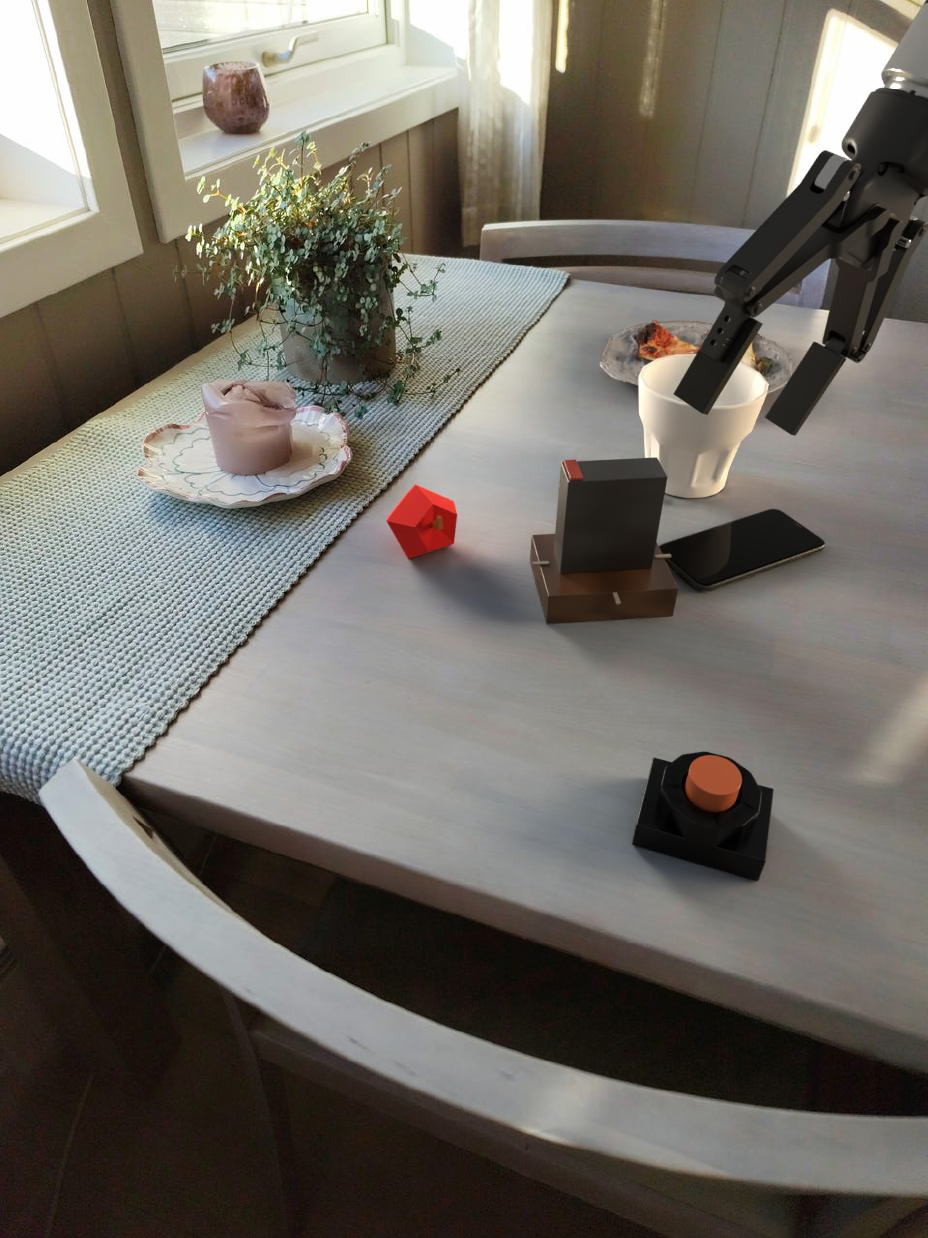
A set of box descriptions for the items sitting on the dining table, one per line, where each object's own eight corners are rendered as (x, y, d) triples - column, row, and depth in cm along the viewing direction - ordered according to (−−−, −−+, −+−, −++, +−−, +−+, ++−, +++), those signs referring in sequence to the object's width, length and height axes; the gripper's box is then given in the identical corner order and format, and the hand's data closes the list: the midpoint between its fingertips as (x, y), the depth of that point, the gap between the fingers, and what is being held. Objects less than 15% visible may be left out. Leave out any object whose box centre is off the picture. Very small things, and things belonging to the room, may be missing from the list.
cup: (607, 456, 95) (619, 360, 88) (711, 442, 97) (730, 347, 90) (654, 517, 86) (671, 414, 79) (767, 500, 88) (794, 399, 81)
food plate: (617, 326, 124) (619, 302, 121) (786, 344, 119) (792, 318, 116) (588, 402, 105) (591, 375, 103) (787, 426, 100) (795, 398, 98)
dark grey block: (642, 546, 77) (657, 454, 71) (651, 568, 74) (668, 474, 68) (553, 551, 76) (561, 458, 70) (560, 573, 74) (568, 479, 68)
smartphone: (701, 596, 76) (829, 550, 81) (702, 588, 76) (831, 543, 81) (650, 552, 81) (774, 512, 86) (652, 545, 81) (776, 505, 86)
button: (738, 780, 56) (744, 762, 55) (733, 818, 53) (738, 801, 52) (688, 767, 57) (693, 749, 56) (681, 804, 54) (685, 786, 53)
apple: (371, 480, 81) (404, 491, 74) (437, 477, 84) (474, 487, 77) (372, 553, 83) (404, 570, 76) (436, 547, 86) (473, 563, 79)
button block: (766, 808, 59) (780, 770, 56) (758, 882, 54) (772, 844, 52) (648, 777, 61) (657, 738, 58) (631, 846, 56) (639, 807, 54)
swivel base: (647, 544, 82) (652, 516, 80) (685, 627, 73) (691, 598, 71) (520, 551, 81) (522, 523, 79) (542, 636, 72) (544, 607, 70)
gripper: (914, 39, 43) (685, 422, 53) (1034, 192, 60) (846, 457, 70) (796, 3, 47) (604, 365, 57) (941, 156, 64) (775, 412, 74)
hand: (738, 416), depth 63 cm, fingers open, 13 cm apart
